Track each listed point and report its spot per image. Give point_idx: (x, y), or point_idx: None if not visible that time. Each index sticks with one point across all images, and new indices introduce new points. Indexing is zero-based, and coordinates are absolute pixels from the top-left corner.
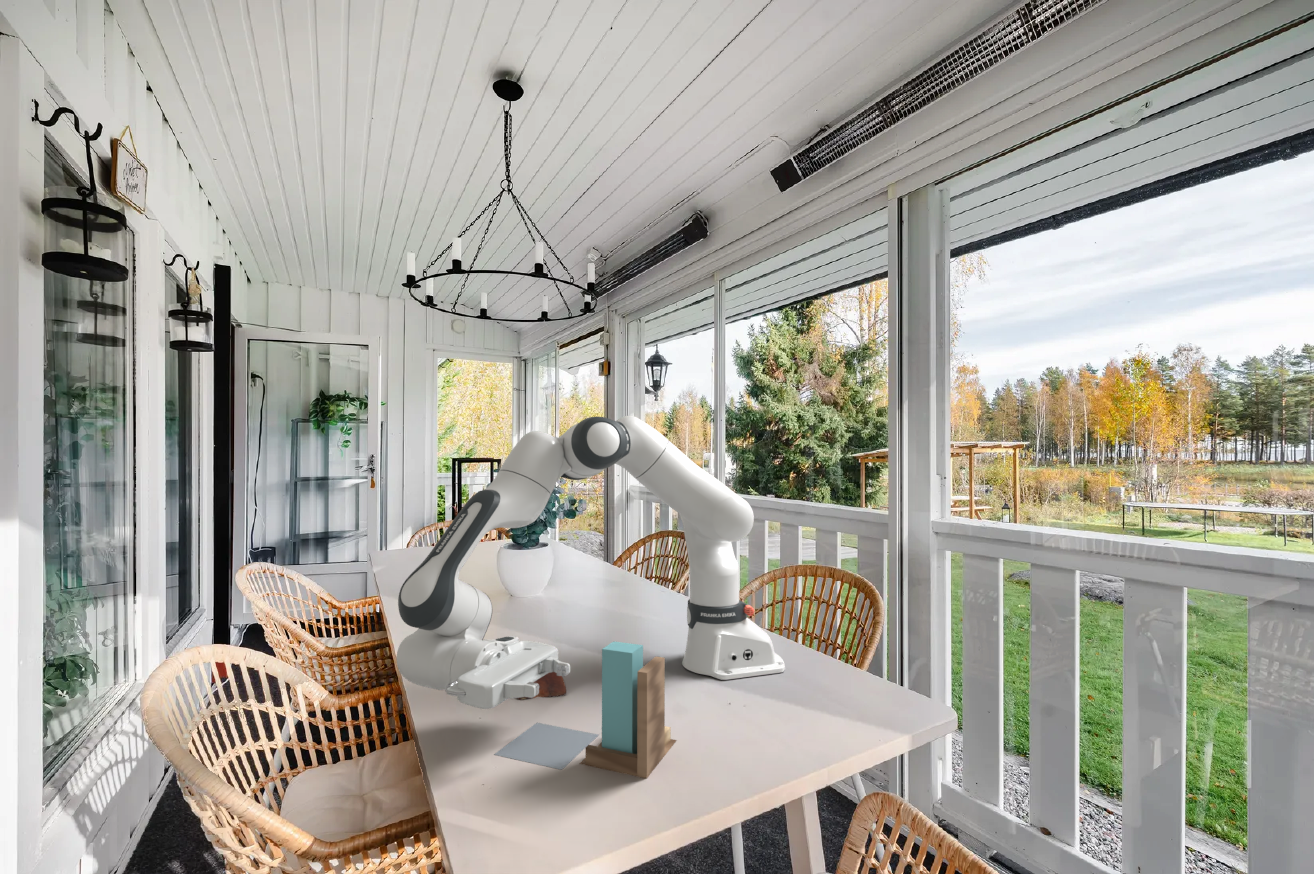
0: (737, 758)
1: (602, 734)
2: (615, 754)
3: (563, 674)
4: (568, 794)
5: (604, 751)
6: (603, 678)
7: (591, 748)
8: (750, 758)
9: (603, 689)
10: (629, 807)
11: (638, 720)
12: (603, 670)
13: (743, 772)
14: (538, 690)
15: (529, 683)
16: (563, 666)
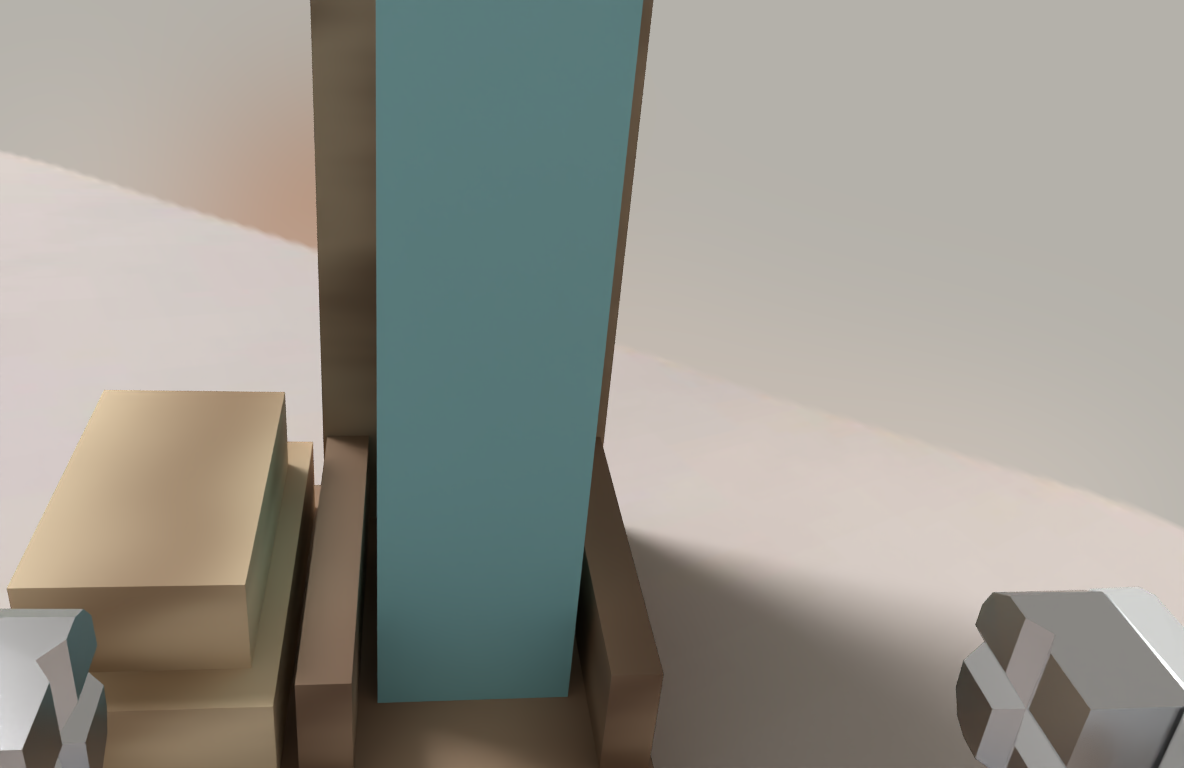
0: (188, 343)
1: (582, 536)
2: (620, 524)
3: (94, 751)
4: (918, 761)
5: (633, 571)
6: (625, 112)
7: (648, 642)
8: (175, 319)
9: (619, 206)
10: (785, 515)
11: (625, 234)
12: (634, 36)
13: (305, 322)
14: (987, 653)
15: (1137, 669)
16: (76, 631)
